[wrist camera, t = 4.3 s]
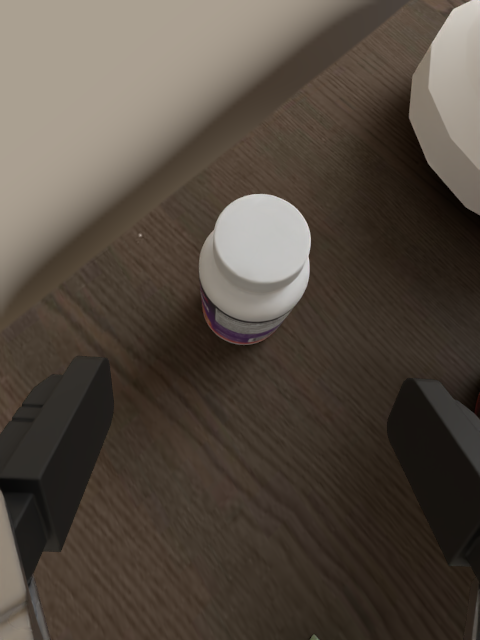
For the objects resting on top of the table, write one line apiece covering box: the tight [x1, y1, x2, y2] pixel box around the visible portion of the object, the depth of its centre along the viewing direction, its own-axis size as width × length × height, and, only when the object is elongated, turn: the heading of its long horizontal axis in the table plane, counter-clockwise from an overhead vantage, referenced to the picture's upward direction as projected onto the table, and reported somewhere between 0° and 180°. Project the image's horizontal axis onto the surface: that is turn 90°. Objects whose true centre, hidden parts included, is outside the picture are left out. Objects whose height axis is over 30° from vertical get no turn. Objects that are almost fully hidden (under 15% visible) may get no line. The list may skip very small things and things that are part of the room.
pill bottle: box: [199, 194, 311, 345], centre depth 19 cm, size 5×5×10 cm
